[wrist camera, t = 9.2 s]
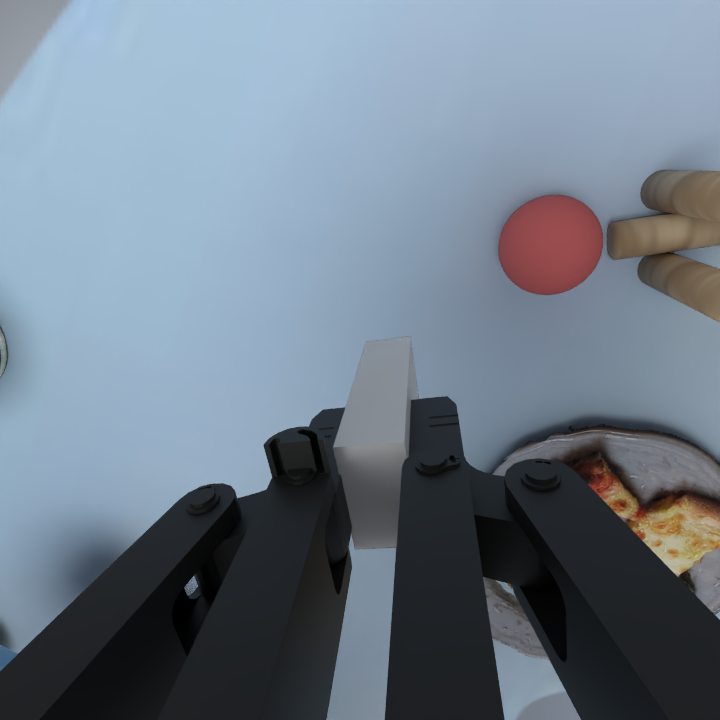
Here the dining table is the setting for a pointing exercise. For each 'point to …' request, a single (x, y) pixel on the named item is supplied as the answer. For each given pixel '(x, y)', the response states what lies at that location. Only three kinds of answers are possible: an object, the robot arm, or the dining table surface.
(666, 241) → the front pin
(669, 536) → the food plate
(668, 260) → the pin
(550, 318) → the dining table surface
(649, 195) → the pin
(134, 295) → the dining table surface
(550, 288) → the ball
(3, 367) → the coffee can
